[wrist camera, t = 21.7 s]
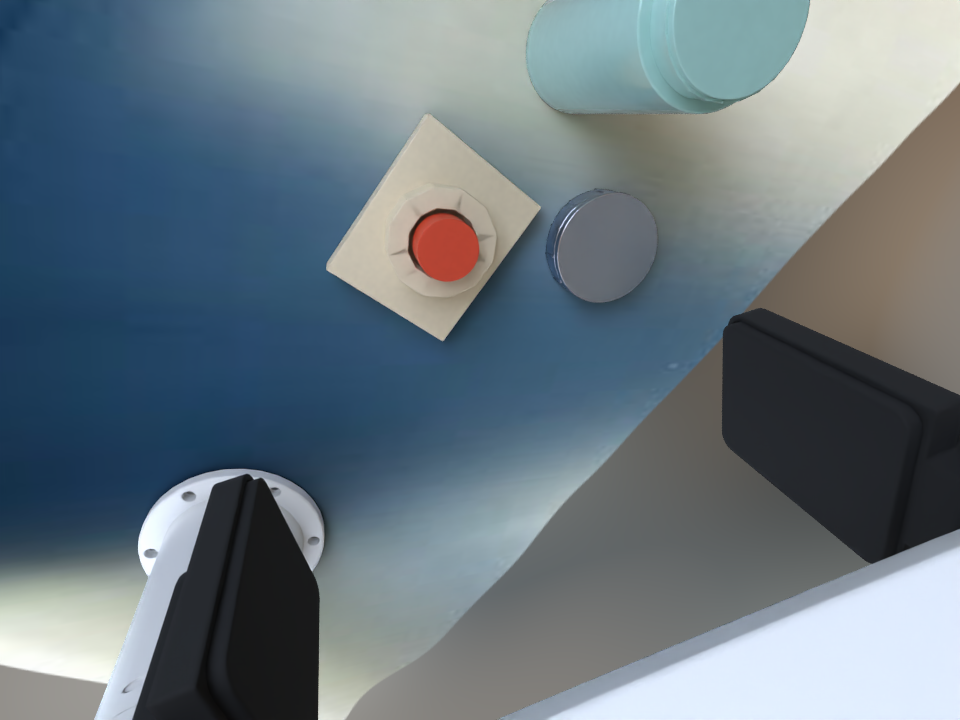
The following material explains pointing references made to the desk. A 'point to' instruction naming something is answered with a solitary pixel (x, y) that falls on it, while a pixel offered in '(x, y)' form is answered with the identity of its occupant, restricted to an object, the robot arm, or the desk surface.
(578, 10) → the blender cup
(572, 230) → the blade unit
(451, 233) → the power button
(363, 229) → the cream base plate
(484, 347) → the desk surface
